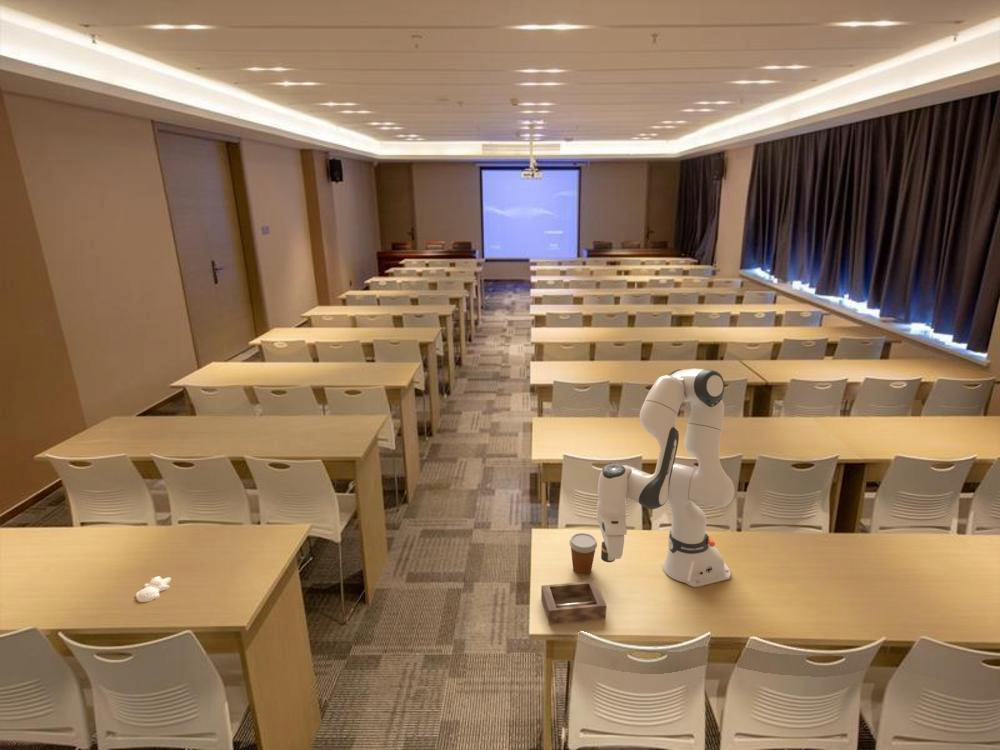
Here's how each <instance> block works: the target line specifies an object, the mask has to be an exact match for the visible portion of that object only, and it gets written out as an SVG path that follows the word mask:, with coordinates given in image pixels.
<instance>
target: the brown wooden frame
mask: <svg viewBox="0 0 1000 750" xmlns="http://www.w3.org/2000/svg"><path fill="white" fill-rule="evenodd" d="M540 594H541V596H540V597H541V598H540V599H541V602H542V606H543V609H544V614H545V617H546V619H547V623H548V625H556V624H566V622H568V623H577V622H587V621H596V620H597V621H598V620H606V617H607V604H606V601H605V599H604V597H603V595H602V592H601V590H600V587H599V585H598V583H597V581H596V580H592V581H589V580H588V581H580V582H579V581H578V582H577V581H576V582H567V583H557V584H556V583H555V584H544V585H541V592H540ZM585 597H586V598H587V597H588V598H589V602H590V601H595V602H596V604H593V605H582V606H572V607H561V608H556V605H557V604H556V602H555V600H562V599H563V600H565V599H574V598H585Z"/></svg>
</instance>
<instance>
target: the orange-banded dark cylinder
mask: <svg viewBox="0 0 1000 750" xmlns="http://www.w3.org/2000/svg"><path fill="white" fill-rule="evenodd" d="M600 549H601V553H600V558H601V560H602V561H603V562H606V563H614V562H615V560H616V559H614V560H613V561H609V560H608V558H607V553H608V552H607V549H606V545H605V542H604V540H603V541H602V542H601V548H600Z"/></svg>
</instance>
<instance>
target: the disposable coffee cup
mask: <svg viewBox="0 0 1000 750" xmlns="http://www.w3.org/2000/svg"><path fill="white" fill-rule="evenodd" d="M568 544H569V546H570V552H571V560H572V570H573V572H574V573H575V574H576V575H579V576H587V575H589V574H591V572H592V569H593V568H592V567H593V563H594V558H595V553H596V549H597V547H598V542H597V539H596V538H595V536H593V535H591V534H590V533H585V532H578V533H576V534H574V535H572V536H571V537H570V540H569V543H568Z"/></svg>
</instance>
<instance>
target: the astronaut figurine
mask: <svg viewBox="0 0 1000 750" xmlns="http://www.w3.org/2000/svg"><path fill="white" fill-rule="evenodd" d="M171 580H172V578H171V577H170V576H169V577H165V578H162V577H161V576H159V575H158V576H155V577H152V578H150V582H149V583H145V584H144V585H143V588H142V589H141V590H139V591H137V592H136V594H135V598H136V601H138V602H140V603H147V602H151V601H153V600H156V599H158V598H159V597H160V595H161V594H160V592H164V591H166V590H169V589H170V585H169V584H170V582H171Z"/></svg>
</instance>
